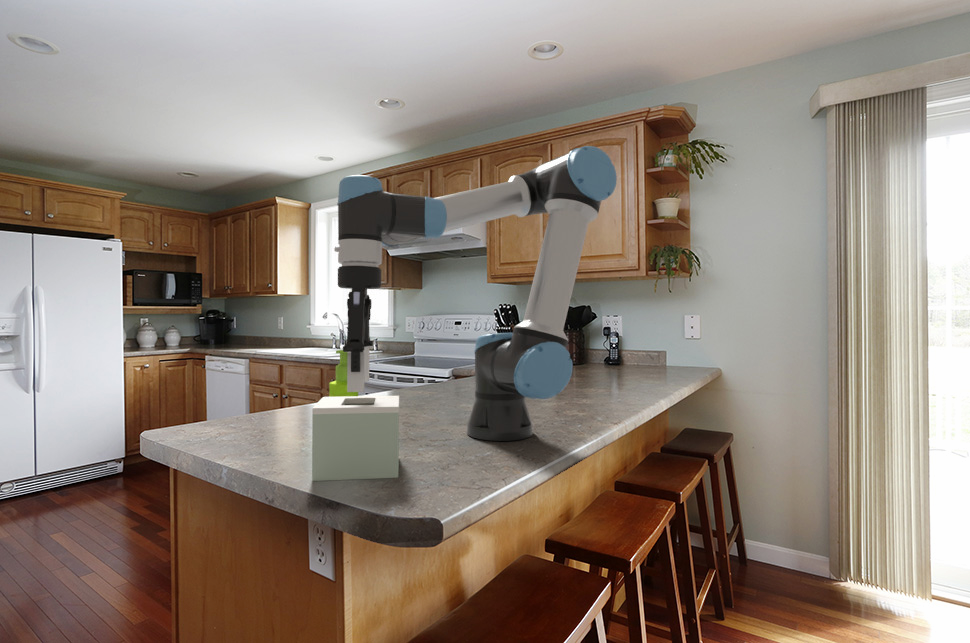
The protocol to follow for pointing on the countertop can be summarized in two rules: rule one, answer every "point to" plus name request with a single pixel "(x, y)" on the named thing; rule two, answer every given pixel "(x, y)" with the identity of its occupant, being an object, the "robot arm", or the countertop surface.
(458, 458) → the countertop surface
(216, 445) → the countertop surface
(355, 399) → the coin box
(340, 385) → the soap dispenser
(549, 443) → the countertop surface
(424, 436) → the countertop surface
